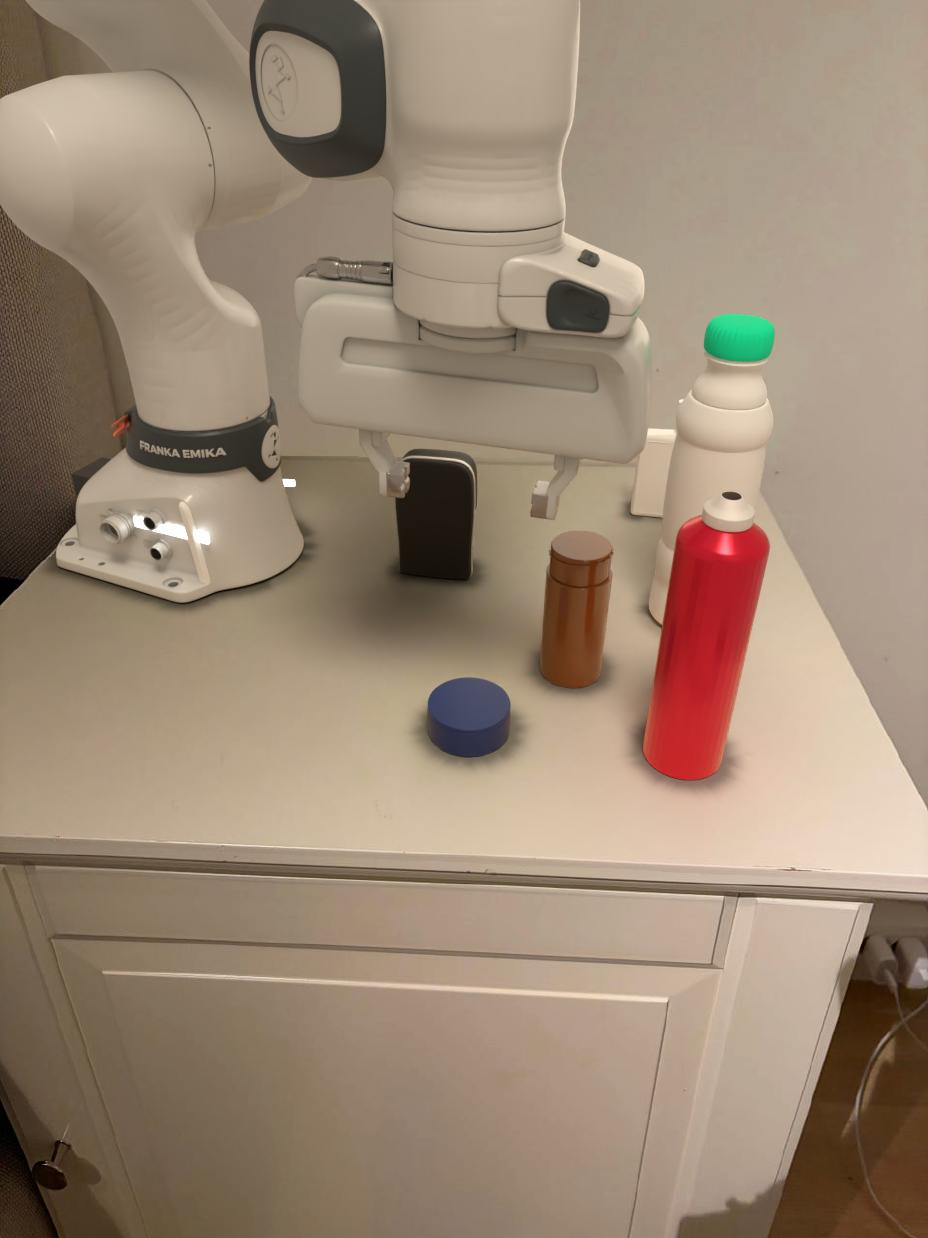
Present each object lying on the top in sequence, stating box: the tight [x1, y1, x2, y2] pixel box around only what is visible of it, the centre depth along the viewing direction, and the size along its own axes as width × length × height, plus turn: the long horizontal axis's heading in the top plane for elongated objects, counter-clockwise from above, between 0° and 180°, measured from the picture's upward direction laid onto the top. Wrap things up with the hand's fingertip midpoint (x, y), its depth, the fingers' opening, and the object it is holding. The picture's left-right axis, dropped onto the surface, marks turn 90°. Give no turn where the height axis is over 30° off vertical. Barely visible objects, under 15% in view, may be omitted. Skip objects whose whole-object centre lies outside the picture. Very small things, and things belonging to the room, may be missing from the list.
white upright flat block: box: [629, 398, 685, 519], centre depth 91 cm, size 8×2×12 cm, turn 79°
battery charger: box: [394, 448, 478, 580], centre depth 82 cm, size 7×4×11 cm, turn 80°
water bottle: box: [648, 313, 776, 626], centre depth 72 cm, size 7×7×25 cm
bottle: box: [642, 491, 771, 781], centre depth 59 cm, size 5×5×20 cm
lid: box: [427, 676, 511, 758], centre depth 66 cm, size 6×6×2 cm
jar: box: [539, 530, 615, 689], centre depth 70 cm, size 5×5×11 cm
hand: (468, 503), depth 57 cm, fingers open, 8 cm apart
